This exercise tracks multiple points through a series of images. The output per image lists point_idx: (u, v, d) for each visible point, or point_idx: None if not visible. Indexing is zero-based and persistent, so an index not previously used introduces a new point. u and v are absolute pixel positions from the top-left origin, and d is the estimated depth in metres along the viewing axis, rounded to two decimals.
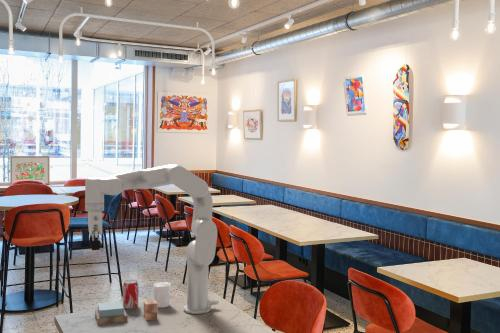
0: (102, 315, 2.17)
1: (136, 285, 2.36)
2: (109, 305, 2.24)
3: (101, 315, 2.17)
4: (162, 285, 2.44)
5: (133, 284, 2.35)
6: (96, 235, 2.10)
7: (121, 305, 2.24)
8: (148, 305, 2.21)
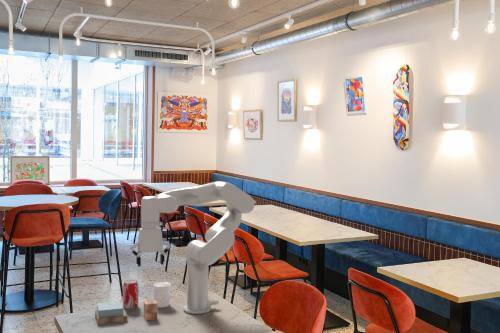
0: (101, 315, 2.17)
1: (136, 285, 2.36)
2: (109, 305, 2.24)
3: (100, 315, 2.17)
4: (162, 285, 2.44)
5: (133, 284, 2.35)
6: None
7: (120, 305, 2.24)
8: (148, 305, 2.21)
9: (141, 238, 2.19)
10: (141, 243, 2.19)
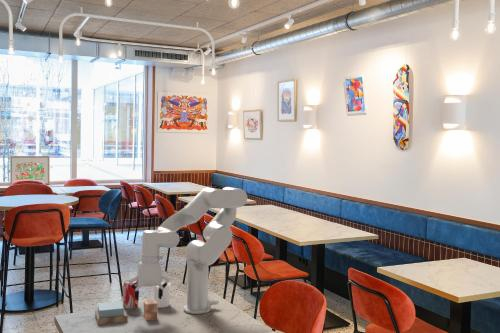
0: (102, 315, 2.17)
1: None
2: (109, 305, 2.24)
3: (101, 315, 2.17)
4: None
5: None
6: None
7: (121, 305, 2.24)
8: (148, 305, 2.21)
9: (140, 272, 2.20)
10: (140, 277, 2.20)
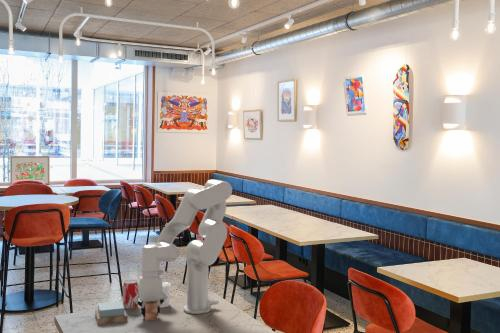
0: (102, 315, 2.17)
1: (136, 285, 2.36)
2: (110, 305, 2.24)
3: (101, 315, 2.17)
4: (162, 285, 2.44)
5: (133, 284, 2.35)
6: None
7: (121, 305, 2.24)
8: (148, 305, 2.21)
9: (141, 287, 2.20)
10: (141, 292, 2.20)
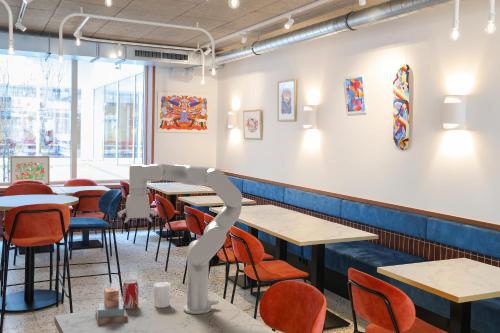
0: (100, 315, 2.18)
1: (136, 285, 2.36)
2: None
3: (99, 315, 2.17)
4: (162, 285, 2.44)
5: (133, 284, 2.35)
6: None
7: (121, 306, 2.23)
8: (109, 293, 2.20)
9: (129, 204, 2.26)
10: (129, 209, 2.26)
